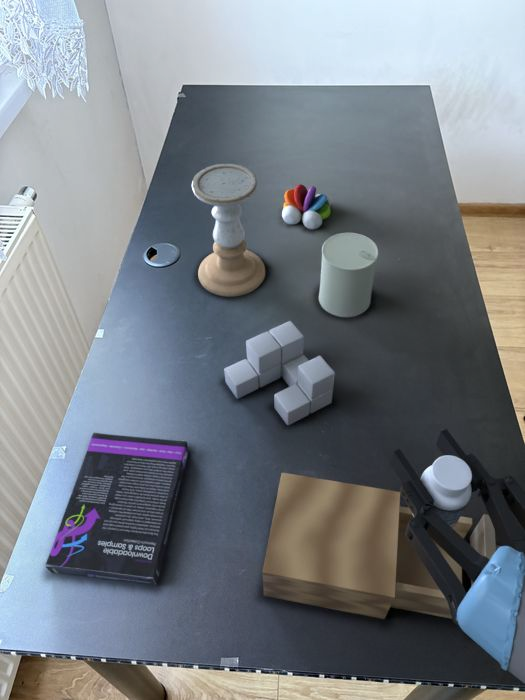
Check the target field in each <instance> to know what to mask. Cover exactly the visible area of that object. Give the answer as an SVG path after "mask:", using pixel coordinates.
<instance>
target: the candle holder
mask: <svg viewBox="0 0 525 700" xmlns="http://www.w3.org/2000/svg"><path fill="white" fill-rule="evenodd" d="M257 189H258V179H257V176H256V174H255V173H254V172H253V171H252V169H249V168H248V167H245V166H243V165H240V164H237V163H236V164H235V163H217V164H213V165H209V166H207V167H205V168H203V169H201V170H200V171H199V172H197V173H196V174H195V175H194V177H193V179H192V181H191V190H192V193H193V195H194V196H195V197H196V198H197V199H198V200H199V201H200V202H202V203H205V204H208V205H211V206H213V207H212V209H211V215H212V217H213V218H214V219H215V224H214V228H213V231H212V238H213V240H214V243H213V245H212V250H213V252H212V253H210V254H208V256H206V257H205V258H204V259H203V260H202V261H201V263H200V265H199V268H198V271H197V273H198V274H197V275H198V280H199V282H200V284H201V286H202V287H203V288H204V289H205V290H206V291H208V292H209V293H211V294H214V295H216V296H220V297H227V298H228V297H229V298H230V297H231V298H232V297H240V296H244V295H246V294H247V295H248V294H249V293H252V292H253V291H256V289H258V288H259V287H260V285H262V283H263V282H264V280H265V277H266V267H265V264H264V262H263V260H262V258H261V257H259V256H258V255H257V254H255V253H254V252H253V251H250V250H248V249H247V243H246V241H245V236H246V234H245V229H244V227H243V225H242V223H241V220H240V219H241V218H240V217H241V216H242V214H243V209H242V207H241V205H240V204H242V203H244V202H246V201H247V200H249V199H251V198H252V197H253V196H254V194H256V191H257Z"/></svg>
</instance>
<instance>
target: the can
mask: <svg viewBox="0 0 525 700" xmlns="http://www.w3.org/2000/svg"><path fill="white" fill-rule="evenodd" d="M378 259H379V248H378V246H377V244H376V242H374V240H372V239H371V238H369V237H368V236H367V235H364V234H360V233H358V232H357V233H356V232H340V233H336V234H333V235H332V236H330V237H329V238H327V239H326V240H325V241H324V243H322V247H321V267H320V268H321V269H320V280H319V281H320V282H319V292H318V301H319V304H320V306H321V308H322V309H323V310H324V311H326V312H327V313H329V314H331V315H333V316H336V317H340V318H353V317H357V316H359V315H361V314H363V313H365V312H366V311H367V310H368V309H369V307H370V305H371V302H372V301H371V299H372V292H373V291H372V290H373V285H374V279H375V274H376V273H375V272H376V267H377V262H378Z"/></svg>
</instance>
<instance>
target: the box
mask: <svg viewBox="0 0 525 700" xmlns="http://www.w3.org/2000/svg"><path fill="white" fill-rule="evenodd" d="M89 441H90V442H89V445H88V447H87V449H86V453H85V455H84V458H83V460H82V464H81V466H80V469H79V472H78V475H77V478H76V481H75V484H74V486H73V489H72V492H71V494H70V497H69V498H68V499H69V500H68V503H67V505H66V508H65V511H64V514H63V516H62V519H61V521H60V524H59V526H58V530H57V533H56V536H55V538H54V541H53V544H52V546H51V550H50V552H49V554H48V556H47V559H46V562H45V568H46V569H47V570H48V571H49V572H50V573H51V574H59V575H67V576H75V577H84V578H93V579H100V580H108V581H116V582H124V583H132V584H138V585H146V586H154V587H156V586H157V585H158V582H159V577H160V574H161V569H162V565H163V561H164V559H165V558H164V557H165V553H166V549H167V544H168V541H169V536H170V532H171V527H172V523H173V520H174V515H175V510H176V508H177V503H178V499H179V496H180V490H181V486H182V483H183V478H184V474H185V469H186V464H187V460H188V458H189V457H188V456H189V452H190V451H189V445H188V441H187V440H182V439H180V440H177V439H163V438H152V437H142V436H131V435H120V434H119V435H118V434H108V433H100V432H93V433H92V435H91V438H90V440H89Z"/></svg>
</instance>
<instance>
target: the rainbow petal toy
mask: <svg viewBox="0 0 525 700" xmlns="http://www.w3.org/2000/svg"><path fill="white" fill-rule="evenodd" d="M316 193H317V188H316V186H310V187H309V189H308V188H307V187H306V186H305V185H304V184H302V183H301V184H297V185H296V186H295V188H291V189H290V188H289V189H287V190H286V191H285V192H284V200H285V202H284V203H283V207H282V211H281V217H282V220H283V221H284V222H285V223H286V224H288V225H297V224H298V223H300V222H301V221H302V223H303V225H304V227H305V228H307V229H308V230H317V229H318V228H320V227H321V226H322V224H323V220H325V219H327V218H329V217H330V215H331V201H330V199H329V197H328V196H327V194H325V193H317V194H316Z"/></svg>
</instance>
